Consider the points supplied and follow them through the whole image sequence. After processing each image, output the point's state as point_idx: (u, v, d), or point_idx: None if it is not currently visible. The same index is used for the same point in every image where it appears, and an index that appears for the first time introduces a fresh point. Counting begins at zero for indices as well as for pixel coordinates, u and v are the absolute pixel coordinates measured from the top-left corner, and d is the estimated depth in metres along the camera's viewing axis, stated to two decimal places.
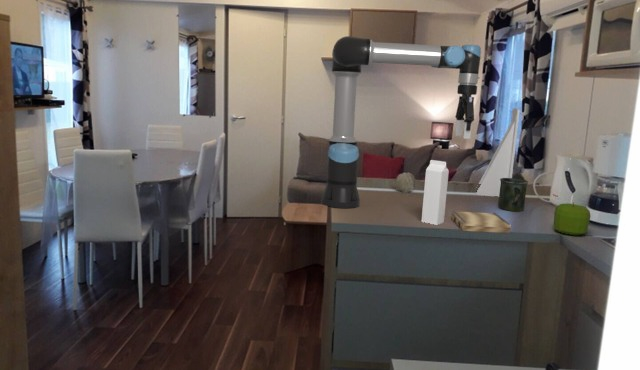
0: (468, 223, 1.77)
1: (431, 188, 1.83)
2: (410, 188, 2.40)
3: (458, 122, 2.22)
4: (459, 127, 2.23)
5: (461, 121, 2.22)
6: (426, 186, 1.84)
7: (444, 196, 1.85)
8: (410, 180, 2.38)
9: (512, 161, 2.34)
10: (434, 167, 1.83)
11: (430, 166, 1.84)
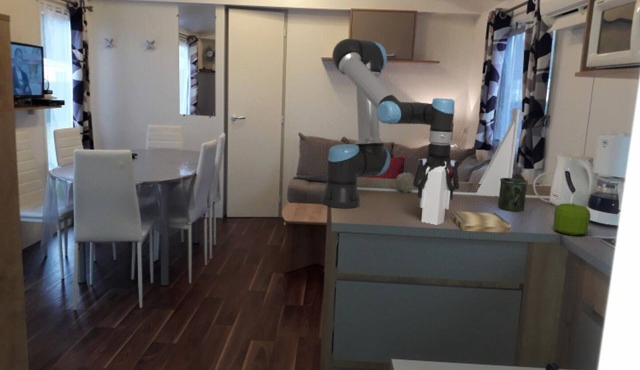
0: (468, 223, 1.77)
1: (431, 188, 1.83)
2: (410, 188, 2.40)
3: None
4: (446, 198, 1.86)
5: (447, 191, 1.85)
6: (426, 186, 1.84)
7: (444, 196, 1.85)
8: (410, 180, 2.38)
9: (512, 161, 2.34)
10: None
11: None
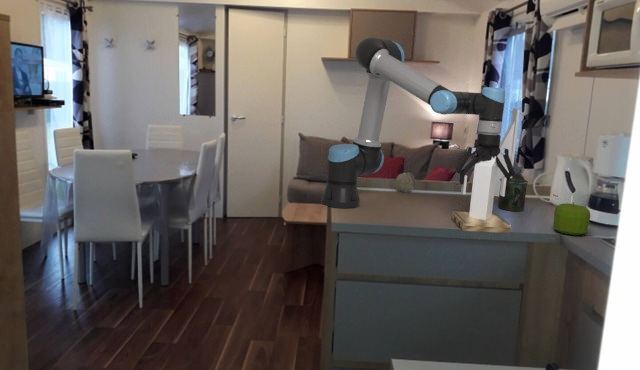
0: (468, 223, 1.77)
1: (480, 183, 1.81)
2: (410, 188, 2.40)
3: (502, 180, 1.83)
4: (502, 185, 1.83)
5: (503, 178, 1.82)
6: (475, 181, 1.82)
7: (493, 191, 1.83)
8: (410, 180, 2.38)
9: (512, 161, 2.34)
10: (484, 162, 1.80)
11: (479, 161, 1.82)
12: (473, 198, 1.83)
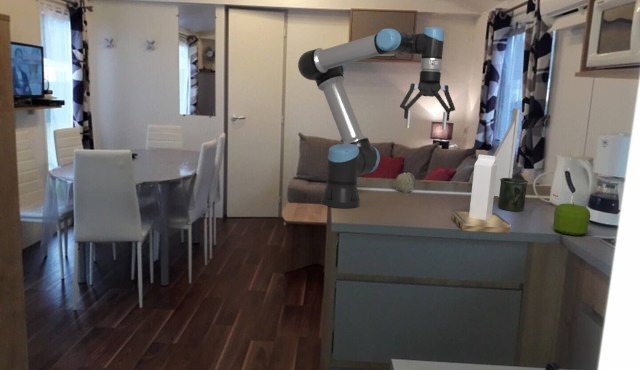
0: (468, 223, 1.77)
1: (479, 183, 1.81)
2: (410, 188, 2.40)
3: (443, 115, 1.98)
4: (443, 120, 1.98)
5: (444, 113, 1.97)
6: (474, 181, 1.82)
7: (492, 191, 1.83)
8: (410, 180, 2.38)
9: (512, 161, 2.34)
10: (483, 162, 1.80)
11: (478, 161, 1.82)
12: (473, 198, 1.83)
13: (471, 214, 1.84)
